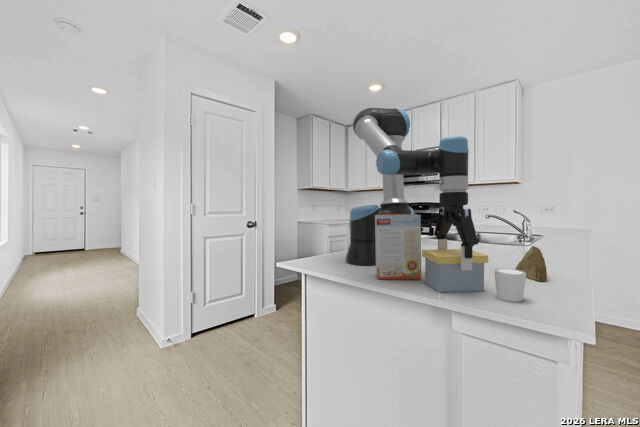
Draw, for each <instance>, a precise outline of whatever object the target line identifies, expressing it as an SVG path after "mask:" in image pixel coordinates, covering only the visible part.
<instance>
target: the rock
mask: <svg viewBox="0 0 640 427" xmlns="http://www.w3.org/2000/svg"><path fill="white" fill-rule="evenodd" d="M514 270H520V271H523V272H525V273H526V278H527V279H529V280H530V279H531V280H534V281H537V282H546V281H547V277H548V273H547V272H548V271H547V265H546V261H545V258H544V256H543V253H542V250H541V249H540V248H539V247H537V246H535V245H532V246H531V247H530V248H529V249H528V250H527V251H526V253H525V254H524V255H523V257H522V258H521V260H520V261H519V262H518V263H517V264H516V267H515V269H514Z"/></svg>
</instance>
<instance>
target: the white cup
mask: <svg viewBox="0 0 640 427" xmlns="http://www.w3.org/2000/svg"><path fill="white" fill-rule="evenodd" d="M493 272H494V280H495V281H494V282H495V290H496V292H495V293H496V297H497V298H498V299H499V300H502V301H506V302H510V303H511V302H512V303H514V302H515V303H521V302H523V301H524V300H523V299H524V292H525V286H526V273H525V272H523V271H520V270H515V269H514V268H496V269H494V271H493Z"/></svg>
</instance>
